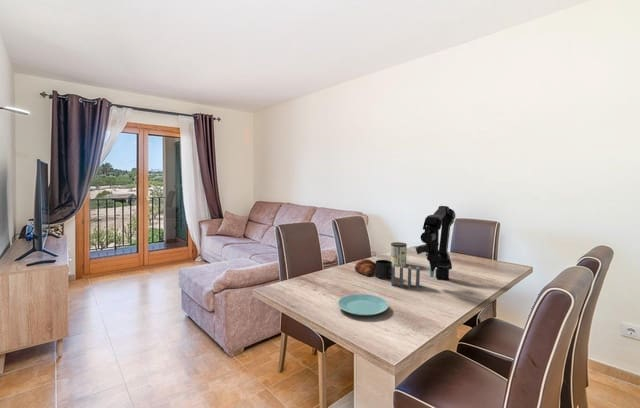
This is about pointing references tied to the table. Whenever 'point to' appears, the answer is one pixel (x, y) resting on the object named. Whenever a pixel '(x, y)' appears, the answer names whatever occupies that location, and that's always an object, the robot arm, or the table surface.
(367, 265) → the pastry
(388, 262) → the mug
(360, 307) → the plate
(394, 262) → the coffee can
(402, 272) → the domino
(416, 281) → the domino
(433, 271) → the domino
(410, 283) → the domino
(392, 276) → the domino
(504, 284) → the table surface
